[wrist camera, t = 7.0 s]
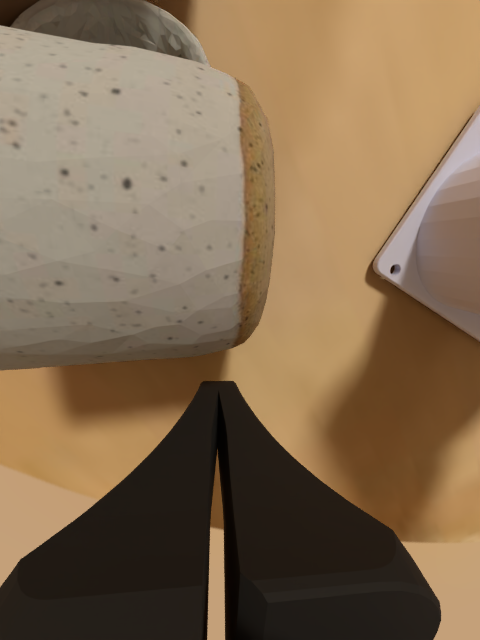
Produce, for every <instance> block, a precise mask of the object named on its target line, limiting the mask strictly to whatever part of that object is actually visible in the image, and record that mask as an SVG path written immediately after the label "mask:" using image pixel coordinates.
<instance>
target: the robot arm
mask: <svg viewBox="0 0 480 640" xmlns="http://www.w3.org/2000/svg"><path fill="white" fill-rule="evenodd" d="M393 265H394V266H395V270H394V272H393V273H392V274H391V273H390V269H391V267H392V266H393ZM373 269H374V271H375V272H376V273H377V274H378V275H380V276H381V277H383V278H384V279H386V280H387V281H389V282H390V283H392V284H393V285H395V286H396V287H398V288H399V289H401V290H402V291H404V292H405V293H407V294H408V295H410V296H411V297H413V298H414V299H416V300H417V301H419V302H420V303H422V304H423V305H425V306H427V307H428V308H430V309H431V310H433V311H434V312H436V313H437V314H439V315H440V316H442V317H443V318H445V319H446V320H448V321H449V322H451V323H452V324H454V325H455V326H457V327H458V328H460V329H461V330H463V331H464V332H466V333H467V334H469V335H470V336H472V337H473V338H475V339H476V340H478V341H479V342H480V106H479V107H478V109H477V110H476V112H475V113H474V115H473V116H472V117H471V119H470V120H469V122H468V123H467V125H466V126H465V128H464V129H463V131H462V132H461V134H460V135H459V137H458V138H457V139H456V141H455V142H454V144H453V145H452V147H451V148H450V150H449V151H448V153H447V154H446V156H445V157H444V158H443V160H442V161H441V163H440V164H439V166H438V167H437V169H436V170H435V172H434V173H433V175H432V176H431V178H430V179H429V180H428V182H427V183H426V185H425V186H424V188H423V189H422V191H421V192H420V194H419V195H418V197H417V198H416V199H415V201H414V202H413V204H412V205H411V207H410V208H409V210H408V211H407V213H406V214H405V216H404V217H403V219H402V220H401V221H400V223H399V224H398V226H397V227H396V229H395V230H394V232H393V233H392V235H391V236H390V238H389V239H388V240H387V242H386V243H385V245H384V246H383V248H382V249H381V251H380V252H379V254H378V255H377V257H376V258H375V260H374V262H373ZM217 448H218V460H219V471H220V482H221V493H222V504H223V519H224V573H225V640H433V639H434V637H435V635H436V633H437V631H438V628H439V625H440V621H441V610H440V603H439V600H438V599H437V597H436V596H435V594H434V592H433V591H432V589H431V588H430V586H429V584H428V583H427V581H426V579H425V578H424V577H423V575H422V573H421V571H420V570H419V568H418V566H417V565H416V563H415V562H414V560H413V559H412V557H411V556H410V554H409V553H408V552H407V550H406V548H405V547H404V546H403V544H402V543H401V542H400V540H399V539H398V537H397V536H396V534H395V533H394V531H393V530H392V529H390V528H389V527H387V526H386V525H384V524H383V523H381V522H380V521H378V520H376V519H375V518H373V517H372V516H370V515H369V514H367V513H366V512H364V511H363V510H361V509H360V508H358V507H357V506H355V505H354V504H352V503H351V502H349V501H348V500H346V499H345V498H343V497H342V496H341V495H339V494H338V493H337V492H335V491H334V490H333V489H331V488H330V487H328V486H327V485H326V484H324V483H323V482H322V481H321V480H319V479H318V478H317V477H316V476H314V475H313V474H312V473H311V472H310V471H308V470H307V469H306V468H305V467H304V466H303V465H301V464H300V463H299V462H298V461H297V460H296V459H294V458H293V457H292V456H291V455H290V454H289V453H288V452H287V451H286V450H285V449H284V448H283V447H282V446H281V445H280V444H279V443H278V442H277V441H276V440H275V438H274V437H273V436H272V435H271V434H270V433H269V432H268V431H267V429H266V428H265V427H264V426H263V424H262V423H261V422H260V421H259V419H258V418H257V417H256V416H255V414H254V413H253V411H252V410H251V408H250V407H249V406H248V404H247V403H246V401H245V400H244V398H243V396H242V395H241V393H240V391H239V389H238V387H237V385H236V383H235V382H234V381H203V382H202V383H201V384H200V387H199V389H198V391H197V393H196V395H195V396H194V398H193V400H192V401H191V403H190V404H189V406H188V407H187V409H186V410H185V412H184V413H183V415H182V416H181V418H180V419H179V420H178V422H177V423H176V424H175V425H174V427H173V428H172V429H171V431H170V432H169V433H168V434H167V435H166V437H165V438H164V439H163V440H162V441H161V442H160V444H159V445H158V446H157V447H156V448H155V449H154V450H153V451H152V452H151V453H150V454H149V455H148V456H147V457H146V458H145V459H144V460H143V461H142V462H141V463H140V464H139V465H138V466H137V467H136V468H135V469H134V470H133V471H132V472H131V473H130V474H129V475H128V476H127V477H126V478H125V479H124V480H122V481H121V482H120V483H119V484H118V485H117V486H116V487H114V488H113V489H112V490H111V491H110V492H108V493H107V494H106V495H105V496H104V497H103V498H101V499H100V500H99V501H98V502H97V503H95V504H94V505H93V506H92V507H91V508H90V509H88V510H87V511H86V512H85V513H83V514H82V515H81V516H80V517H78V518H77V519H76V520H74V521H73V522H71V523H70V524H69V525H67V526H66V527H65V528H63V529H62V530H61V531H59V532H58V533H56V534H55V535H54V536H52V537H51V538H50V539H48V540H47V541H46V542H44V543H43V544H42V545H40V546H39V547H37V548H36V549H35V550H33V551H32V552H30V553H29V554H28V555H26V556H25V557H24V558H22V559H21V560H20V561H19V562H18V564H17V565H16V567H15V568H14V569H13V571H12V572H11V574H10V575H9V576H8V578H7V579H6V580H5V582H4V583H3V584H2V586H1V587H0V640H207V620H208V584H209V546H210V544H209V543H210V519H211V506H212V496H213V486H214V476H215V466H216V456H217Z"/></svg>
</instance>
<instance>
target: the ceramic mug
mask: <svg viewBox="0 0 480 640" xmlns="http://www.w3.org/2000/svg"><path fill="white" fill-rule="evenodd" d="M274 235H275V175H274V151H273V145H272V139H271V134H270V128H269V124H268V119H267V117H266V115H265V113H264V112H263V110H262V108H261V106H260V104H259V103H258V101H257V99H256V97H255V95H254V93H253V92H252V90H251V89H250V87H249V86H248V85H246V84H245V83H243V82H241V81H239V80H237V79H235V78H233V77H232V76H230V75H228V74H226V73H224V72H221V71H219V70H216V69H214V68H211V66H210V64H209V62H208V60H207V57H206V55H205V53H204V50H203V48H202V46H201V44H200V42H199V41H198V39H197V38H196V37H195V36H194V35H193V34H192V33H191V32H190V30H189V29H188V28H187V27H186V26H185V25H184V24H183V23H181V22H180V21H179V20H178V19H176V18H175V17H174V16H172V15H171V14H170V13H169V12H167V11H165V10H163V9H161V8H159V7H157V6H155V5H153V4H151V3H149V2H147V1H145V0H40V1H38V2H37V3H35V4H34V5H32V6H31V7H30V8H28V9H27V10H25V11H24V12H23V13H22V14H20V15H19V16H18V17H17V18H16V20H15V21H14V22H13V23H12V25H11V26H10V27H5V26H0V370H13V369H30V368H41V367H56V366H68V365H83V364H97V363H107V362H120V361H134V360H149V359H168V358H183V357H193V356H200V355H205V354H209V353H213V352H217V351H221V350H226V349H230V348H233V347H236V346H238V345H240V344H242V343H244V342H245V341H246V340H247V339H248V338H249V337H250V336H251V334H252V333H253V331H254V330H255V328H256V327H257V326H258V324H259V321H260V319H261V316H262V313H263V309H264V306H265V302H266V298H267V292H268V287H269V281H270V273H271V264H272V256H273V246H274Z"/></svg>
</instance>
